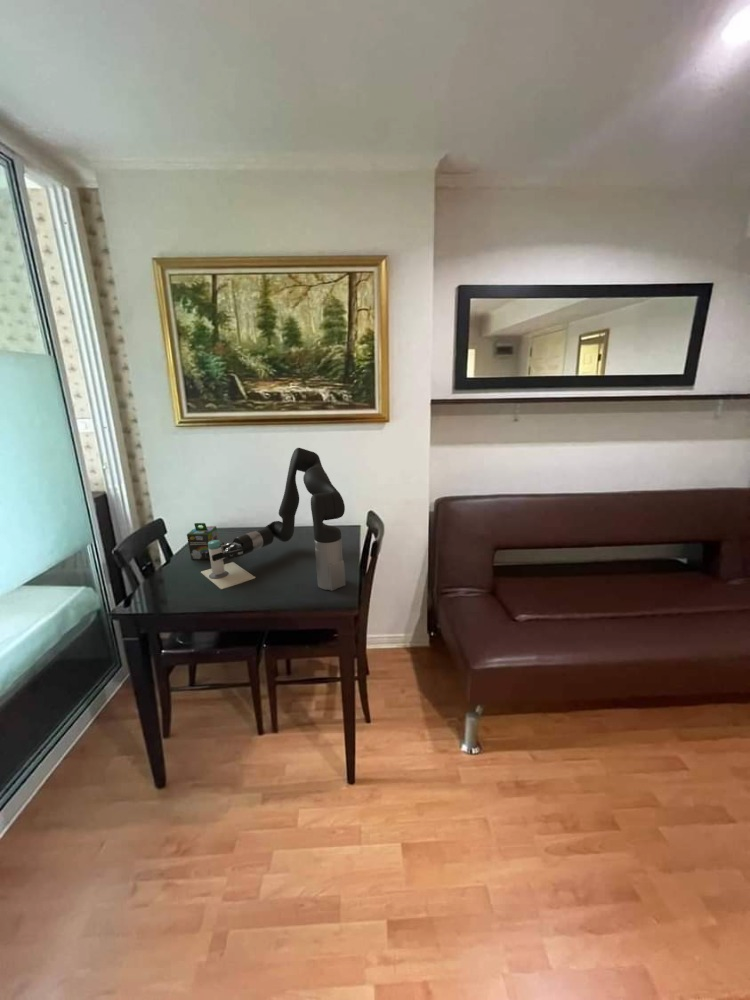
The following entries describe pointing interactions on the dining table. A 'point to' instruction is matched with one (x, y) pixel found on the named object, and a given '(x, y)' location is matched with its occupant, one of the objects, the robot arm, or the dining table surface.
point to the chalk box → (201, 540)
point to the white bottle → (214, 549)
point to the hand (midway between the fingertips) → (209, 557)
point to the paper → (228, 576)
